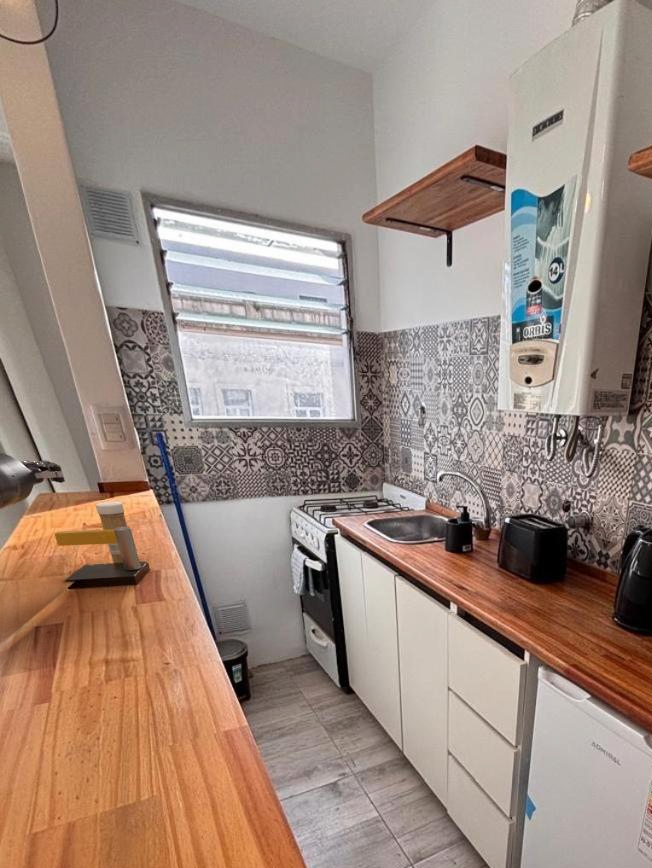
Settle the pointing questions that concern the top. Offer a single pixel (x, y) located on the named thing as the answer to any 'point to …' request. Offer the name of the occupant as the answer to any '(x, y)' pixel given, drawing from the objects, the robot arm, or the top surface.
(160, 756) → the top surface
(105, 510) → the sprinkles bottle
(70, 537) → the gas tap
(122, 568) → the stove plate
